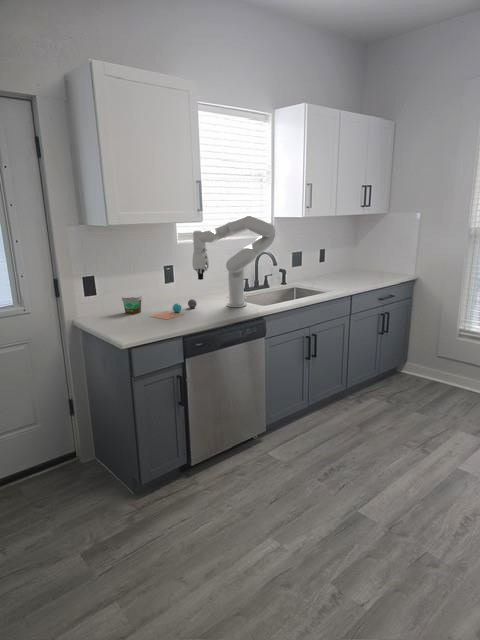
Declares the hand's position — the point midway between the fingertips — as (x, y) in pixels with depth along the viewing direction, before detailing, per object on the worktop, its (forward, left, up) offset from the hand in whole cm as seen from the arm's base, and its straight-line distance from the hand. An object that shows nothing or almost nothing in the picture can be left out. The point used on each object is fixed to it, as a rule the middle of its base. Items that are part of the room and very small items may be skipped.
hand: (200, 279), depth 276 cm
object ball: (+23, 0, -14) cm, 27 cm away
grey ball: (+9, 0, -14) cm, 17 cm away
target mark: (+32, 0, -17) cm, 37 cm away
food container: (+39, -22, -17) cm, 48 cm away
